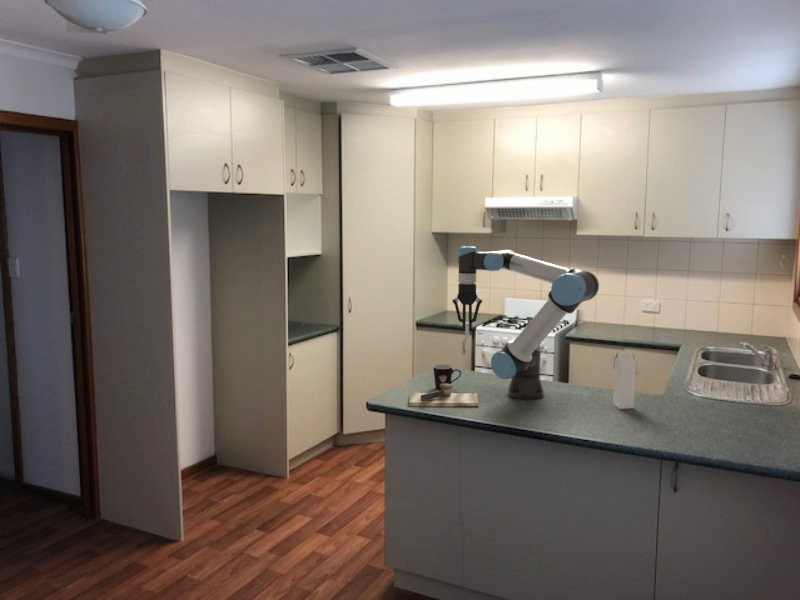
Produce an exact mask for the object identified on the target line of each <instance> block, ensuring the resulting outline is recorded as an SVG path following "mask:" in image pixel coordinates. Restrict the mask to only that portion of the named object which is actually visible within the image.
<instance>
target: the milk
mask: <svg viewBox="0 0 800 600" xmlns="http://www.w3.org/2000/svg"><path fill="white" fill-rule="evenodd" d="M636 364H637V363H636V360H635V358H634V356H633V352H618V353H617V357H615V359H614V369H613V370H614V374H613V375H614V378H613V399H612V402H613V406H614V407H617V408H618V409H620V410H623V409H624V410H625V409H626V410H627V409H634V407H635V389H636V388H635V386H636V383H635V381H636Z"/></svg>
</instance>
